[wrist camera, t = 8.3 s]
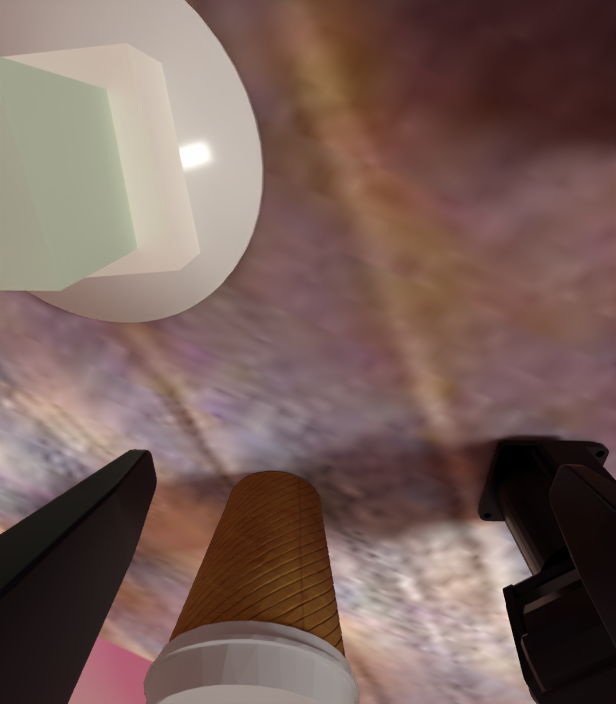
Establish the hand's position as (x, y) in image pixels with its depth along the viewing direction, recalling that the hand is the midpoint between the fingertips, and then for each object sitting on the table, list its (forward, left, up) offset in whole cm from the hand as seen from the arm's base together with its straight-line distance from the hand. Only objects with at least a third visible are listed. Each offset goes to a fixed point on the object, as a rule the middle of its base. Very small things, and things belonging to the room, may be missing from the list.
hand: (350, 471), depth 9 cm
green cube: (+5, +10, -8) cm, 14 cm away
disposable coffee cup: (-15, +3, -13) cm, 20 cm away
